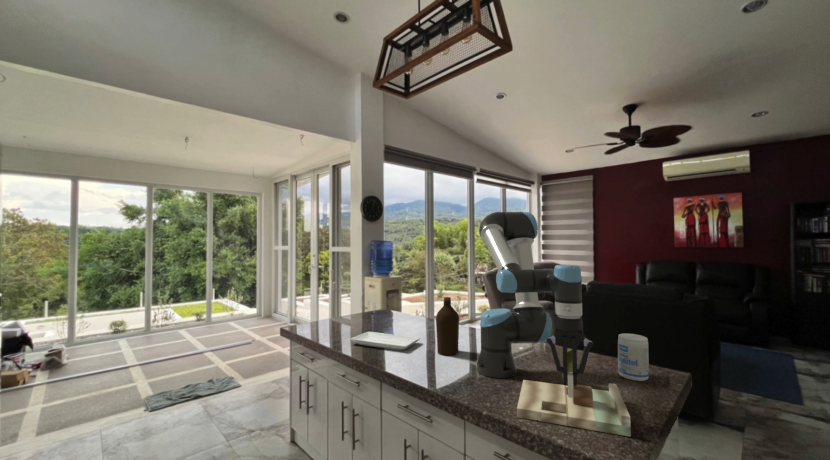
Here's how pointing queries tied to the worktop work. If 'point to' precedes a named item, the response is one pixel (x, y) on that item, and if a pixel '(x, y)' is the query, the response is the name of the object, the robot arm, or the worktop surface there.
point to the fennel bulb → (569, 362)
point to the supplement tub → (633, 357)
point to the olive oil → (447, 329)
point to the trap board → (574, 408)
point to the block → (583, 395)
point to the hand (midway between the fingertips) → (570, 395)
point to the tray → (385, 340)
